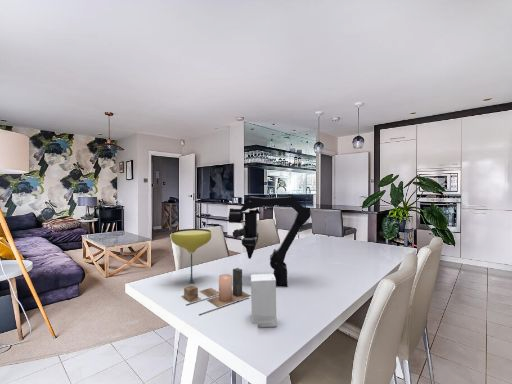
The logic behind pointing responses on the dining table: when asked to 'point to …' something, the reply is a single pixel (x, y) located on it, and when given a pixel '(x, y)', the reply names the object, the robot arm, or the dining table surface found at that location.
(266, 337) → the dining table surface
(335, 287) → the dining table surface
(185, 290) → the walnut cube
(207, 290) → the broken strip
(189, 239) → the cocktail glass
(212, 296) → the lane rails
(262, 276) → the skincare box
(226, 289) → the terracotta cylinder
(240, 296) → the tan wooden baseplate
